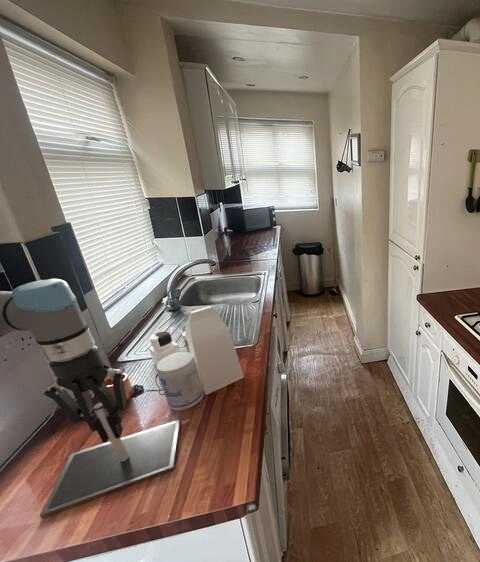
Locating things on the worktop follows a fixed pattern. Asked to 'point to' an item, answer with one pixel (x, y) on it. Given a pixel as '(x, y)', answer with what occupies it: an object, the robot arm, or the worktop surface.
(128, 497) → the worktop surface
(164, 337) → the medicine bottle
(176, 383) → the supplement tub
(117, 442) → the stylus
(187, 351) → the sprinkles bottle
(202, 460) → the worktop surface
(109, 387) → the pen cup
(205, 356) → the milk
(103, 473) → the tablet
